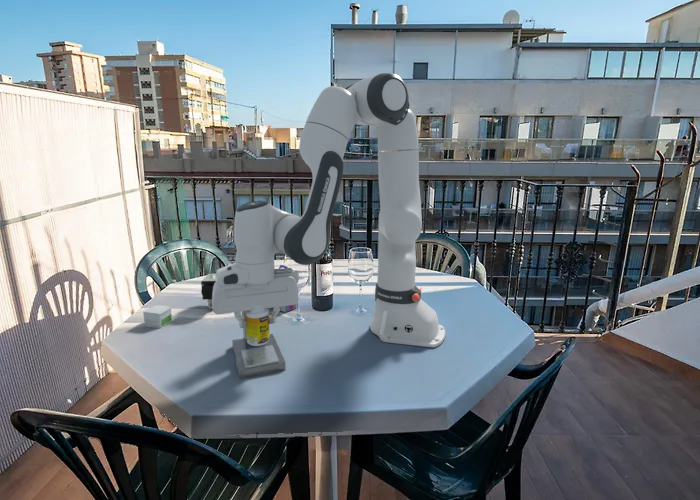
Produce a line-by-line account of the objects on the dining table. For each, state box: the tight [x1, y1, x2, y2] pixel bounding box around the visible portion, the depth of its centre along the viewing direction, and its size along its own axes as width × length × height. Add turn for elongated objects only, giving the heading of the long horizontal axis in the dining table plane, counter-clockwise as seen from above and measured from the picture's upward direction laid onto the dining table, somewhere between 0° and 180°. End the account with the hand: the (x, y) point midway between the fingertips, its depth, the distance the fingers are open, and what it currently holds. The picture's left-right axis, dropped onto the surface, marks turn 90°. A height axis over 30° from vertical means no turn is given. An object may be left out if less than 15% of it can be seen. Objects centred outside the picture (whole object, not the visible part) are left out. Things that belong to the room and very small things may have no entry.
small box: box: [142, 304, 173, 329], centre depth 116 cm, size 6×6×5 cm
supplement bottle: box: [245, 305, 270, 346], centre depth 92 cm, size 6×6×10 cm
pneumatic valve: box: [200, 272, 217, 310], centre depth 127 cm, size 6×12×12 cm, turn 5°
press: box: [231, 311, 287, 380], centre depth 96 cm, size 16×11×13 cm
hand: (257, 324), depth 92 cm, fingers closed on supplement bottle, 6 cm apart
